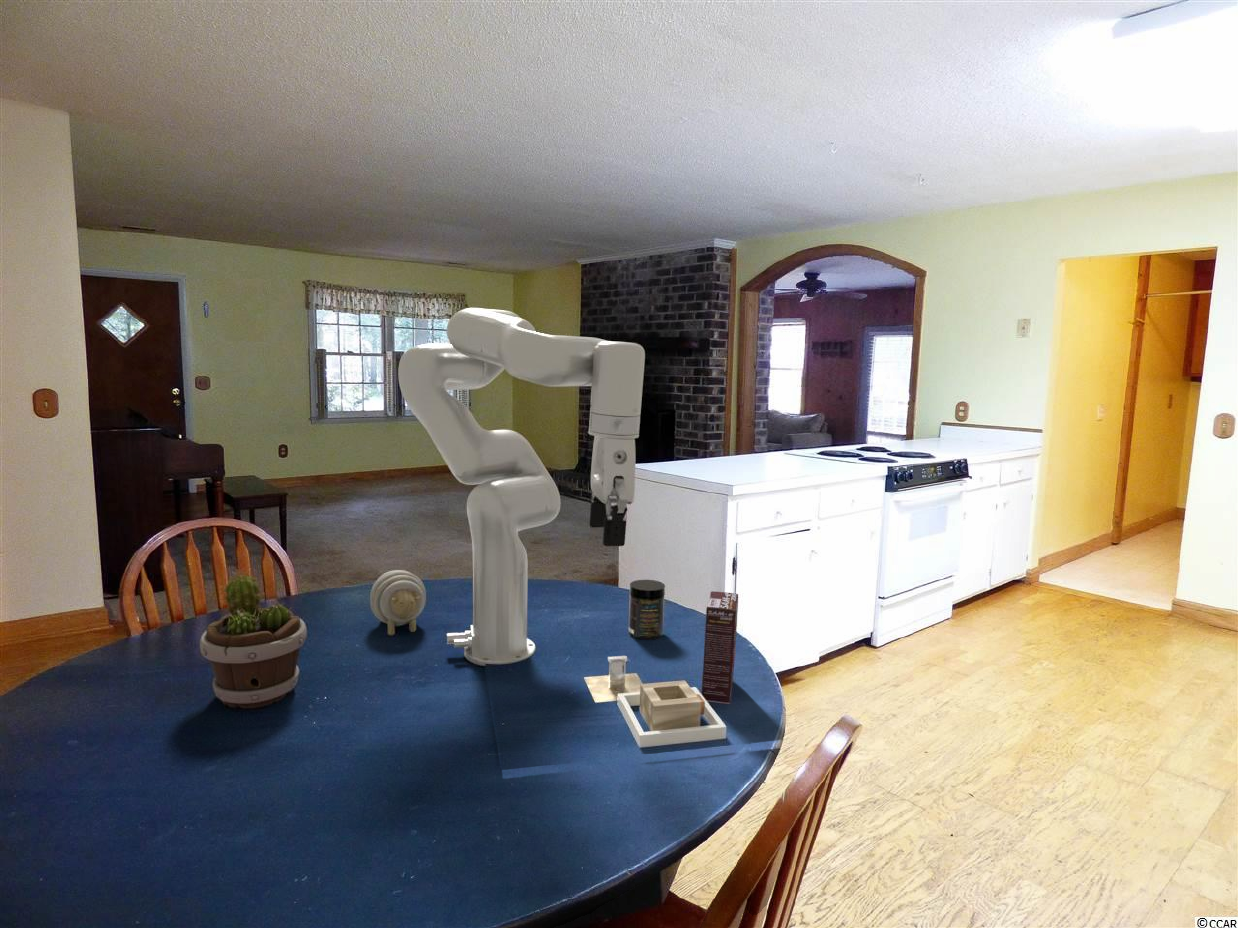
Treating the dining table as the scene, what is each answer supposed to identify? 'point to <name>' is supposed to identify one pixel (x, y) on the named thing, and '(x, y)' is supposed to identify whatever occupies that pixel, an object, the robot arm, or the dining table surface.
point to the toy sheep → (398, 599)
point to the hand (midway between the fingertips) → (606, 535)
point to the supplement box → (719, 647)
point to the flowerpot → (253, 647)
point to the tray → (673, 735)
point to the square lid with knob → (613, 681)
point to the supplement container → (646, 609)
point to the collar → (670, 705)
